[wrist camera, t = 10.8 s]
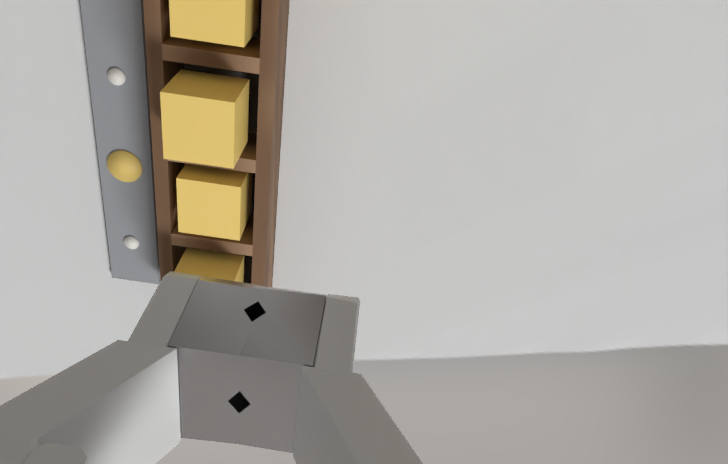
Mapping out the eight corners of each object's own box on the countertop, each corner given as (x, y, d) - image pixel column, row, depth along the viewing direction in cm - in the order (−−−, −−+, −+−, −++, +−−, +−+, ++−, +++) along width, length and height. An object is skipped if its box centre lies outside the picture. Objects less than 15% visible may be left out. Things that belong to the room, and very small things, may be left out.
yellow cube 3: (253, 160, 46) (240, 187, 43) (251, 211, 49) (239, 240, 45) (193, 152, 46) (176, 178, 43) (194, 203, 49) (178, 231, 45)
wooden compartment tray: (293, -74, 38) (282, -64, 35) (271, 296, 54) (262, 328, 51) (161, -94, 38) (137, -85, 35) (178, 283, 54) (162, 314, 51)
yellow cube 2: (249, 79, 40) (234, 102, 37) (247, 141, 43) (233, 168, 40) (180, 69, 40) (160, 91, 37) (182, 132, 43) (163, 158, 40)
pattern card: (136, -98, 38) (133, -97, 38) (160, 281, 54) (158, 285, 54) (70, -108, 38) (66, -107, 38) (113, 274, 54) (111, 278, 53)
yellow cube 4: (244, 255, 48) (231, 288, 45) (243, 300, 51) (230, 334, 47) (186, 247, 48) (169, 279, 45) (188, 292, 51) (172, 325, 47)
